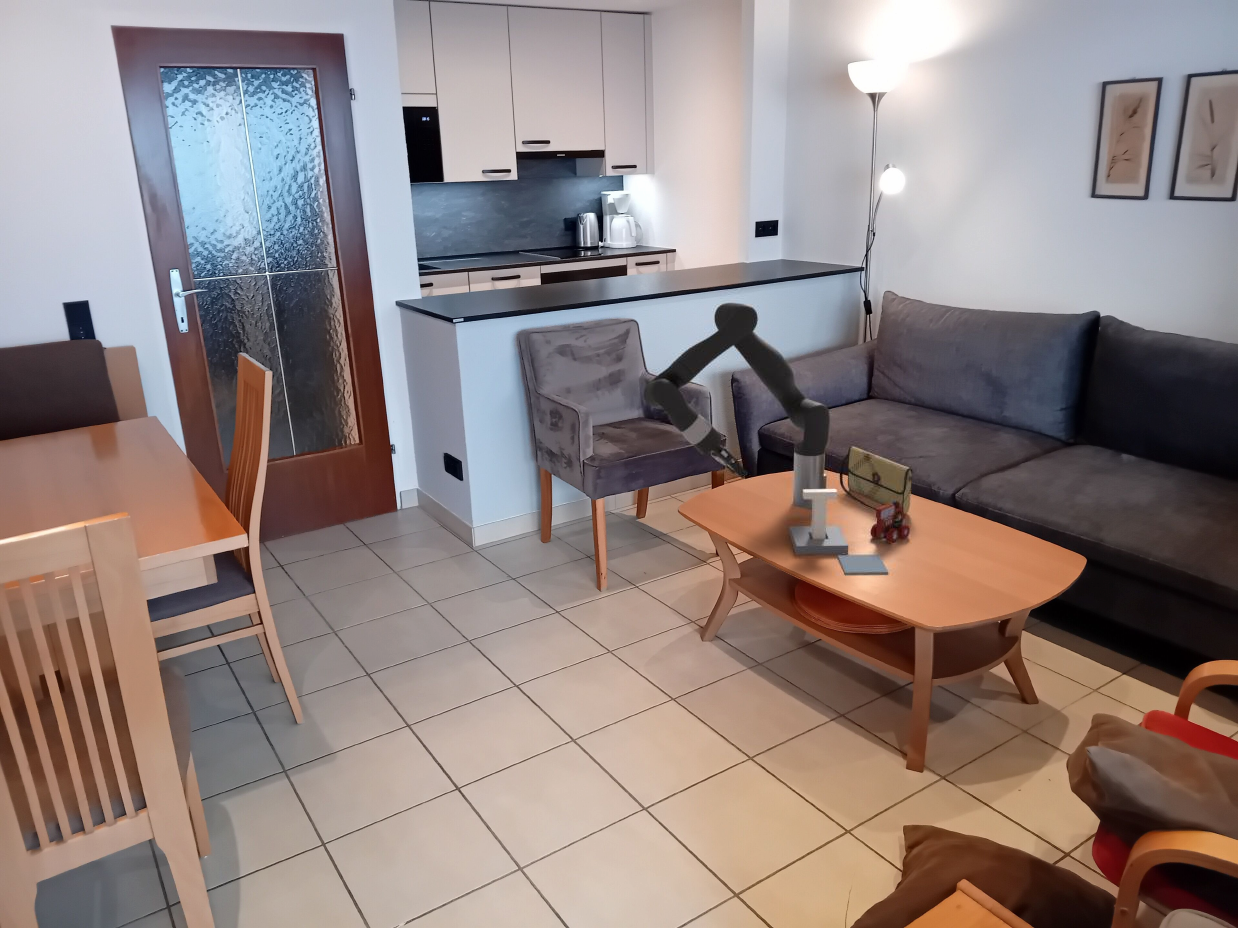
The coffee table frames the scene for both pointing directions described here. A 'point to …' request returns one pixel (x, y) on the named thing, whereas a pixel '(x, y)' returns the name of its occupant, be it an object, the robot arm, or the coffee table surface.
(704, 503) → the coffee table surface
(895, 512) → the toy fire truck
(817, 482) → the robot arm
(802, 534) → the socket block
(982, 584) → the coffee table surface
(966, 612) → the coffee table surface
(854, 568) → the mat
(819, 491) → the t key
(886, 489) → the clutch purse
